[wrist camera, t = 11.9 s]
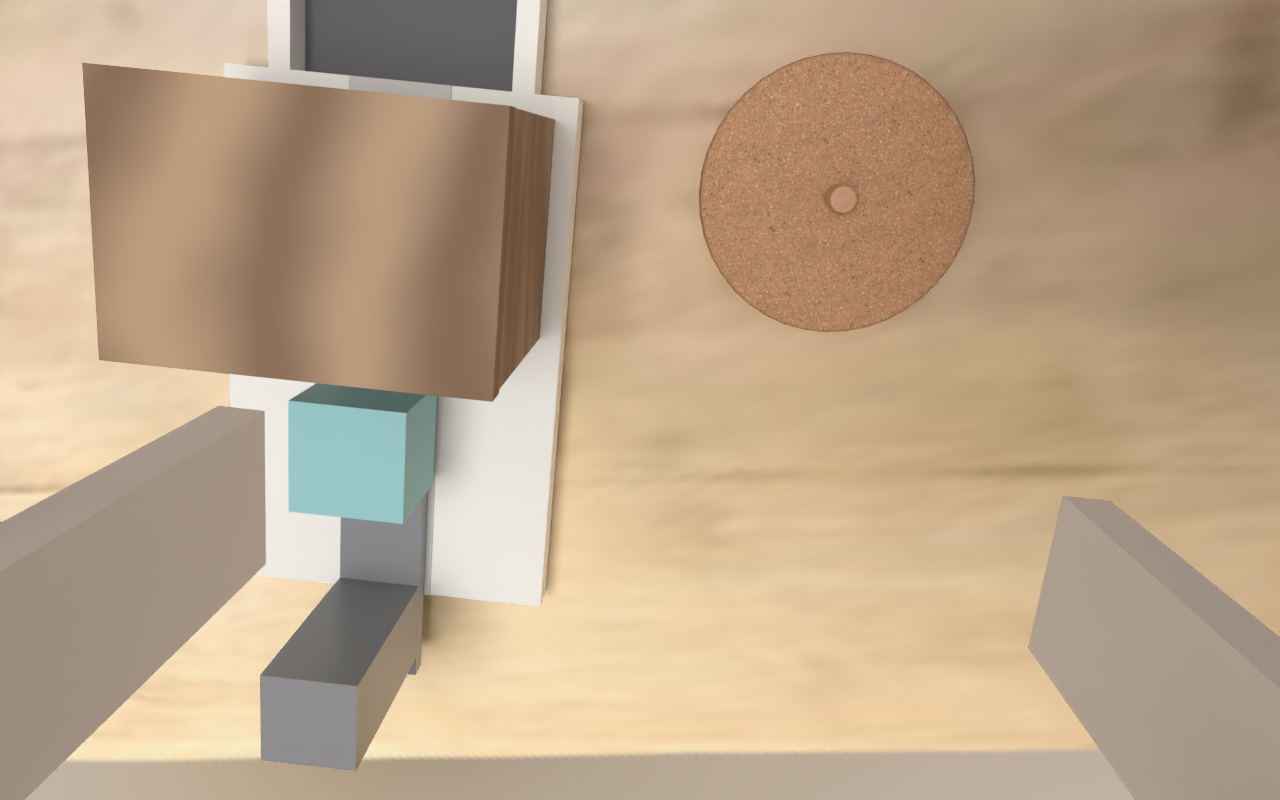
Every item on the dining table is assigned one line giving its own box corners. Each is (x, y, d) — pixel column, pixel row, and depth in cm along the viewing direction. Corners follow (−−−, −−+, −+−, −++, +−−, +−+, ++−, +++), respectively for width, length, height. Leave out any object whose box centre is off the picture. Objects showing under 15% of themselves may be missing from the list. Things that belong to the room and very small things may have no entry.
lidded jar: (669, 110, 43) (666, 97, 34) (898, 39, 42) (958, 7, 33) (729, 329, 45) (740, 371, 36) (946, 268, 44) (1014, 297, 35)
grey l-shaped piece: (434, 317, 44) (364, 362, 34) (420, 664, 48) (355, 791, 39) (351, 308, 44) (256, 351, 34) (345, 656, 48) (261, 780, 39)
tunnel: (557, 119, 41) (509, 105, 30) (541, 338, 44) (492, 401, 32) (243, 88, 41) (79, 62, 30) (246, 307, 44) (96, 359, 33)
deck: (596, -64, 41) (591, -75, 39) (545, 589, 49) (539, 607, 47) (242, -98, 41) (219, -111, 39) (250, 556, 50) (232, 573, 48)
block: (437, 384, 43) (406, 413, 38) (433, 484, 45) (402, 524, 40) (332, 373, 43) (288, 400, 39) (331, 473, 45) (288, 511, 40)
